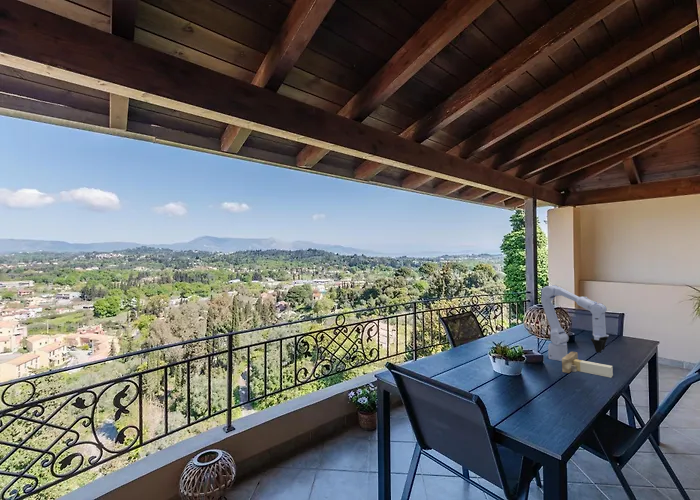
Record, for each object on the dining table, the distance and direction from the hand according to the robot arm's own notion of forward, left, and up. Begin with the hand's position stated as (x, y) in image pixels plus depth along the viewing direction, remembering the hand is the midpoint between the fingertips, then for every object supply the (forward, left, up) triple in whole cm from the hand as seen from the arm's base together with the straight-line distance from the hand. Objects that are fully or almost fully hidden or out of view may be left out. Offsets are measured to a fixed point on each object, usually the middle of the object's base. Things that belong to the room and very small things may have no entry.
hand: (600, 350), depth 177 cm
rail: (-2, -11, -9) cm, 15 cm away
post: (-12, -11, -9) cm, 18 cm away
